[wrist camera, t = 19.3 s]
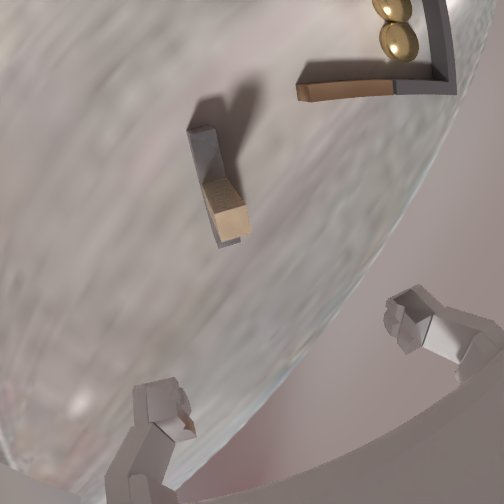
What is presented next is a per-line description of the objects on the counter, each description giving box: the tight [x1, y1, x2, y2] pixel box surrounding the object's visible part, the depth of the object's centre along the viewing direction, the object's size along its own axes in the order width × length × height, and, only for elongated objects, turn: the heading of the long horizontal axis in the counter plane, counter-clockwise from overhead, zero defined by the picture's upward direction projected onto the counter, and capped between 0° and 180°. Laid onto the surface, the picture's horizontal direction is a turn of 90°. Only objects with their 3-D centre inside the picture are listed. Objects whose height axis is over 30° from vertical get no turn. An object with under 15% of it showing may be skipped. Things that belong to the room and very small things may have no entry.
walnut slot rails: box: [296, 79, 394, 102], centre depth 20 cm, size 15×9×2 cm, turn 10°
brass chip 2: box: [379, 22, 419, 62], centre depth 22 cm, size 4×4×2 cm
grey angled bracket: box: [385, 0, 457, 95], centre depth 21 cm, size 15×10×2 cm, turn 10°
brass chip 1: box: [372, 0, 412, 23], centre depth 20 cm, size 4×4×2 cm
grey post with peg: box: [186, 125, 252, 248], centre depth 23 cm, size 10×2×9 cm, turn 10°
